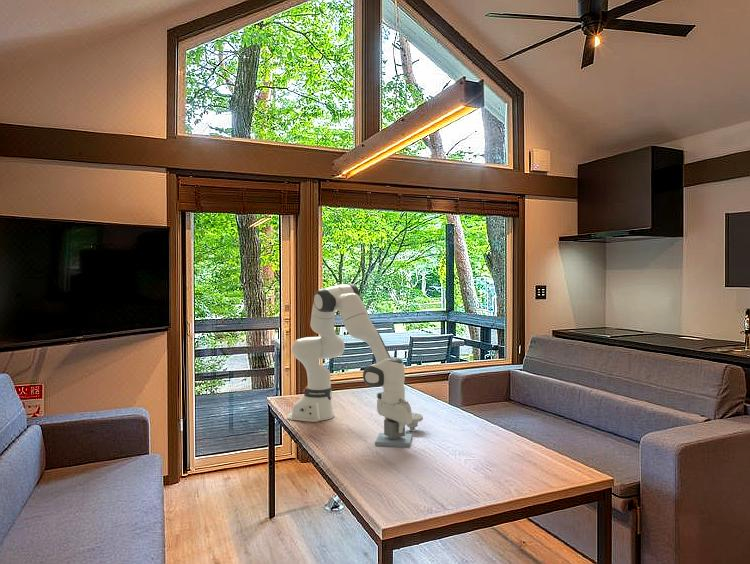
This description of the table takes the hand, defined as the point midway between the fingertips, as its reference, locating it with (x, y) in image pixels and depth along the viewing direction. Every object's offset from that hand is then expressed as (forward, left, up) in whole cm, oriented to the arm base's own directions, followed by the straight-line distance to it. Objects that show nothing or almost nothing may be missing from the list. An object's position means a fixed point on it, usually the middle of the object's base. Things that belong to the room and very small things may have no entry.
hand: (394, 430), depth 217 cm
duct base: (0, 0, -5) cm, 5 cm away
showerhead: (+6, +16, -5) cm, 18 cm away
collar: (0, 0, -2) cm, 2 cm away
